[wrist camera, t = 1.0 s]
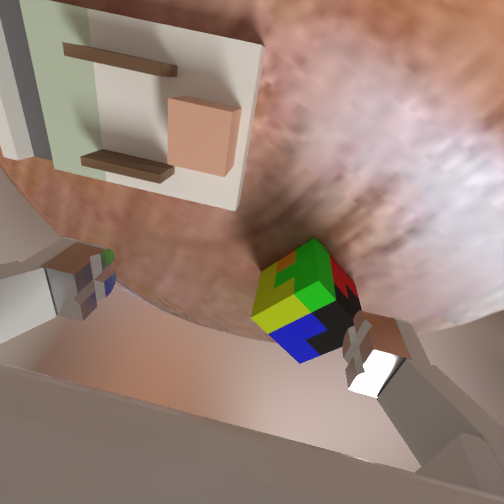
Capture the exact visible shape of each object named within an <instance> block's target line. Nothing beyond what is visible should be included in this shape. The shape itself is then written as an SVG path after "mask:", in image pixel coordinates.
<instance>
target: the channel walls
mask: <svg viewBox="0 0 504 504" xmlns="http://www.w3.org/2000/svg"><path fill="white" fill-rule="evenodd" d="M62 44H63V51H64V56H68V57H72V58H77V59H82V60H86V61H91V62H96V63H100V64H105V65H109V66H114V67H119V68H123V69H128V70H132V71H137V72H142V73H146V74H151V75H155V76H161V77H177V65H173V64H168V63H164V62H159V61H154V60H150V59H145V58H140V57H136V56H131V55H126V54H122V53H117V52H112V51H108V50H103V49H98V48H94V47H88V46H83V45H77V44H71V43H65V42H62ZM80 159H81V165H82V166H85V167H90V168H94V169H98V170H102V171H107V172H111V173H115V174H120V175H124V176H128V177H132V178H137V179H141V180H145V181H150V182H154V183H158V184H161V183H162V182H164V181H165V180H166V179H168V178H169V177H171V176H172V175H174V174H175V166H173V165H169V164H166V163H162V162H157V161H153V160H149V159H144V158H140V157H136V156H131V155H127V154H123V153H118V152H114V151H110V150H105V149H101V150H98V151H95V152H92V153H89V154H86V155H83V156H80Z"/></svg>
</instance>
